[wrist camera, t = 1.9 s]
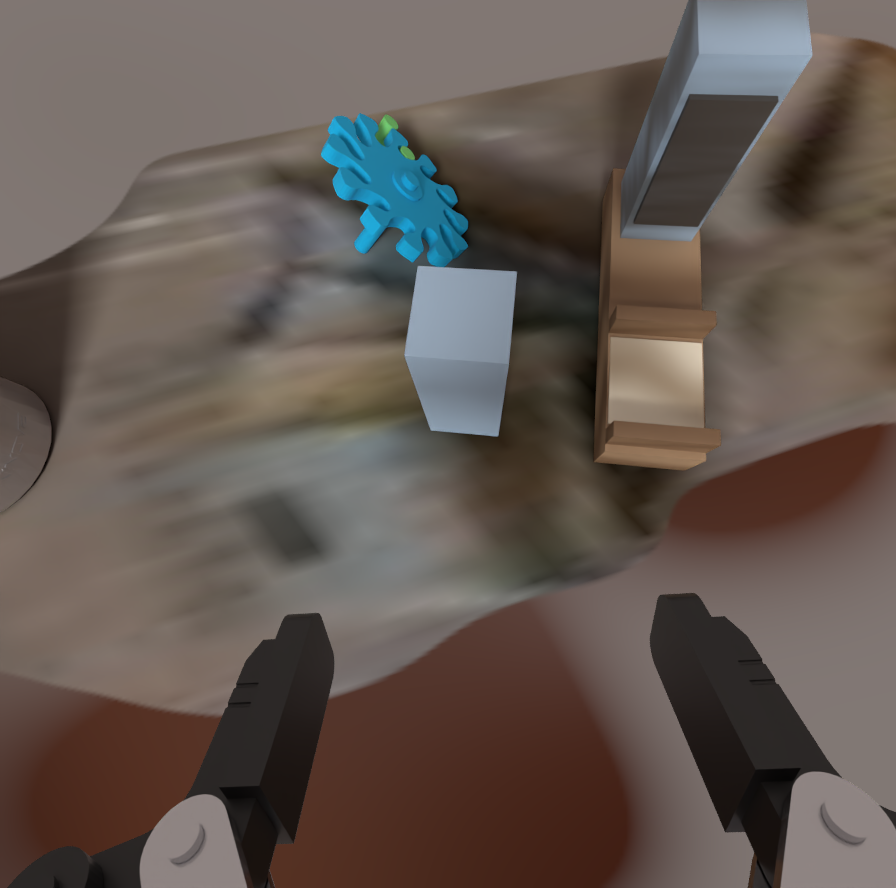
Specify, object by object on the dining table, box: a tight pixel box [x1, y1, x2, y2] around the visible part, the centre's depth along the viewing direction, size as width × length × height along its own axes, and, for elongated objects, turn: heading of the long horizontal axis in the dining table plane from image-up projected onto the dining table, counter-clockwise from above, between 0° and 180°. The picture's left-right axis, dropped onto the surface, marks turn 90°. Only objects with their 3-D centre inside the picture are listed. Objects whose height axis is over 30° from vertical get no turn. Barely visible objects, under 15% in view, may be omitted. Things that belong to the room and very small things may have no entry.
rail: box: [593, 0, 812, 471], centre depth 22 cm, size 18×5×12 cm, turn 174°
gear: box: [321, 113, 468, 267], centre depth 29 cm, size 11×6×10 cm
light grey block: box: [404, 266, 517, 436], centre depth 23 cm, size 4×4×10 cm
